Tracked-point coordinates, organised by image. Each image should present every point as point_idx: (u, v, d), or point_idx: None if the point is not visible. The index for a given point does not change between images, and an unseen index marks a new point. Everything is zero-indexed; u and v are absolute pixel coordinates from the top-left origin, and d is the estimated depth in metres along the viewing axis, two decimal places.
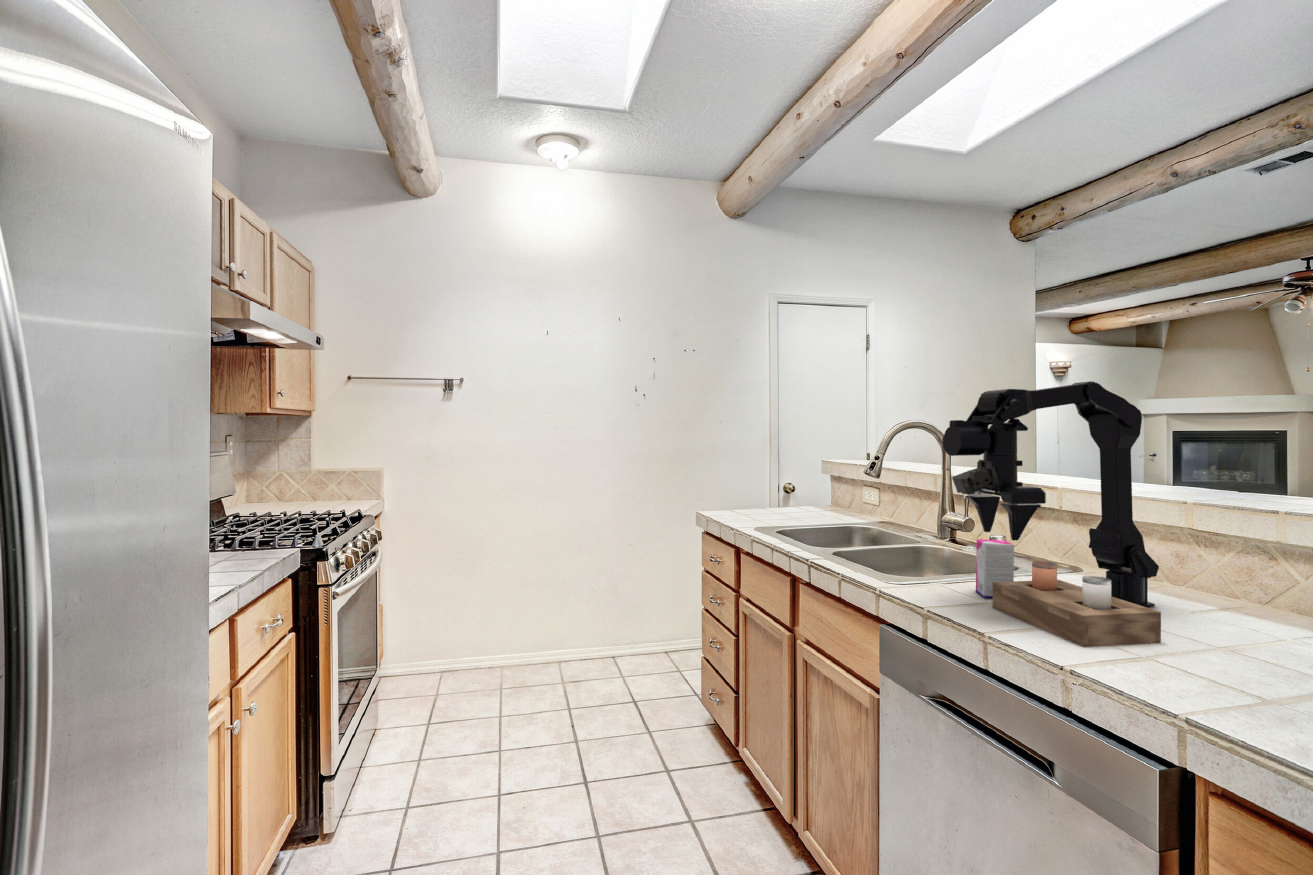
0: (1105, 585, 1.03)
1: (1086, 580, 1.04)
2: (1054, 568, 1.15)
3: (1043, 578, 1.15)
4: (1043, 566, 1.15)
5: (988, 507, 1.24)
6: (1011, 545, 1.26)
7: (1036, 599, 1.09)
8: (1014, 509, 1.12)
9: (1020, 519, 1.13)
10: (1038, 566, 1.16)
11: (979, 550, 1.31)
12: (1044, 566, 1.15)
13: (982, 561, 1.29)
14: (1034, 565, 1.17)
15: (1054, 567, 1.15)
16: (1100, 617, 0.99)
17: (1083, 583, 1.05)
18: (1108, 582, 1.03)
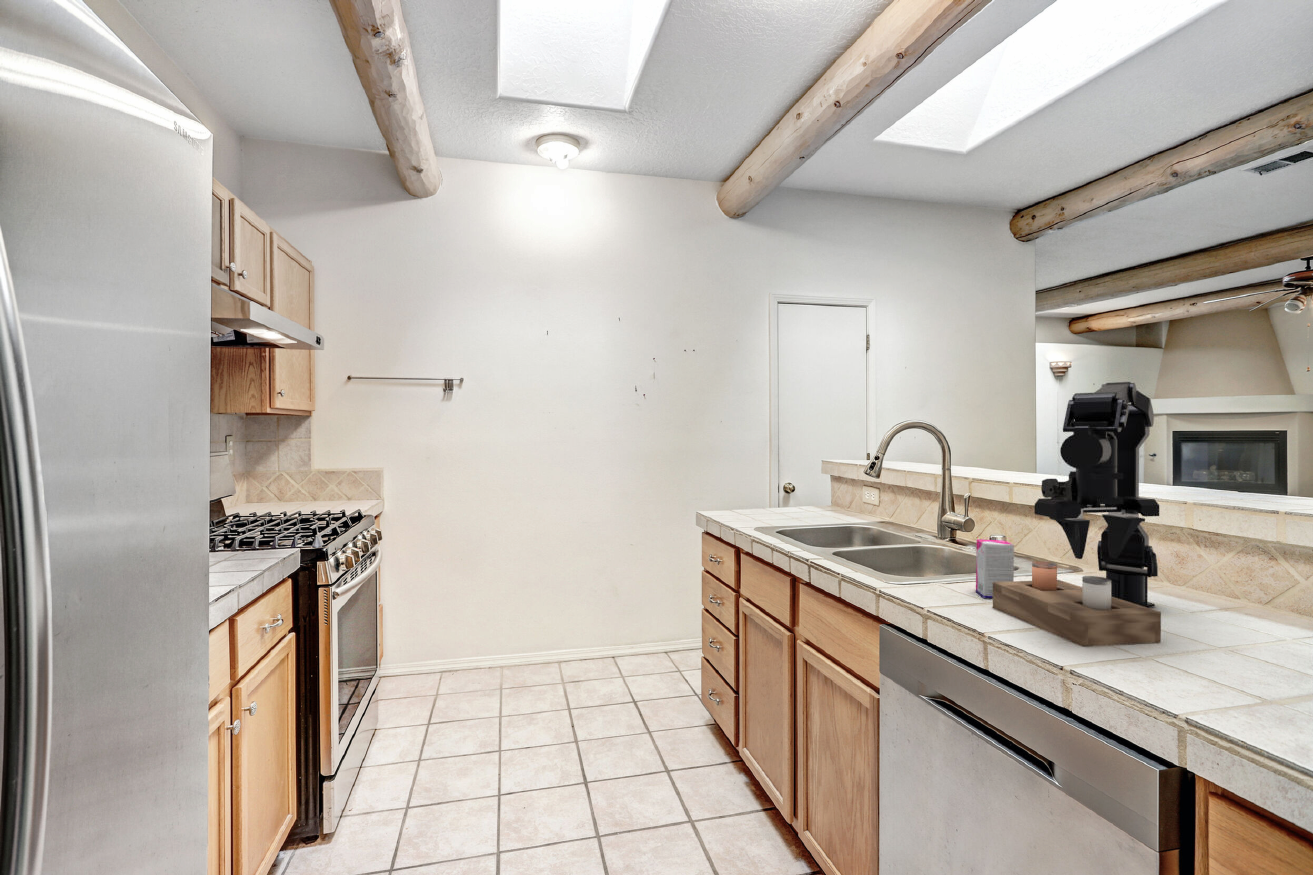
0: (1105, 585, 1.03)
1: (1086, 580, 1.04)
2: (1054, 568, 1.15)
3: (1043, 578, 1.15)
4: (1043, 566, 1.15)
5: (1116, 529, 1.05)
6: (1011, 545, 1.26)
7: (1036, 599, 1.09)
8: (1062, 522, 1.05)
9: (1073, 535, 1.04)
10: (1038, 566, 1.16)
11: (979, 550, 1.31)
12: (1044, 566, 1.15)
13: (981, 561, 1.29)
14: (1034, 565, 1.17)
15: (1054, 567, 1.15)
16: (1100, 617, 0.99)
17: (1083, 583, 1.05)
18: (1108, 582, 1.03)
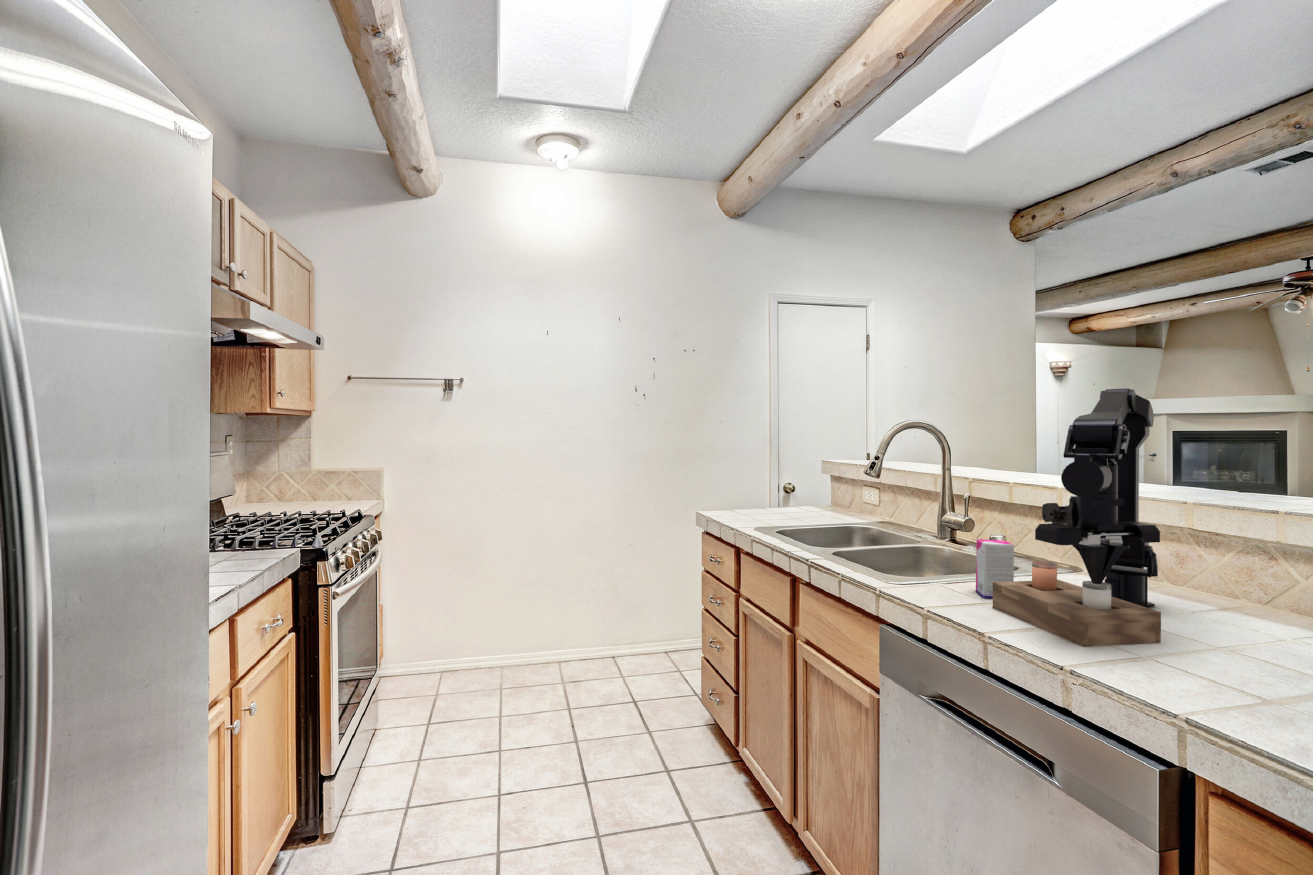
0: (1105, 590, 1.03)
1: (1086, 585, 1.05)
2: (1054, 568, 1.15)
3: (1043, 578, 1.15)
4: (1043, 566, 1.15)
5: None
6: (1011, 545, 1.26)
7: (1036, 599, 1.09)
8: (1079, 547, 1.06)
9: (1090, 560, 1.04)
10: (1038, 566, 1.16)
11: (979, 550, 1.31)
12: (1044, 566, 1.15)
13: (981, 561, 1.29)
14: (1034, 565, 1.17)
15: (1054, 567, 1.15)
16: (1100, 617, 0.99)
17: (1083, 588, 1.05)
18: (1108, 587, 1.03)
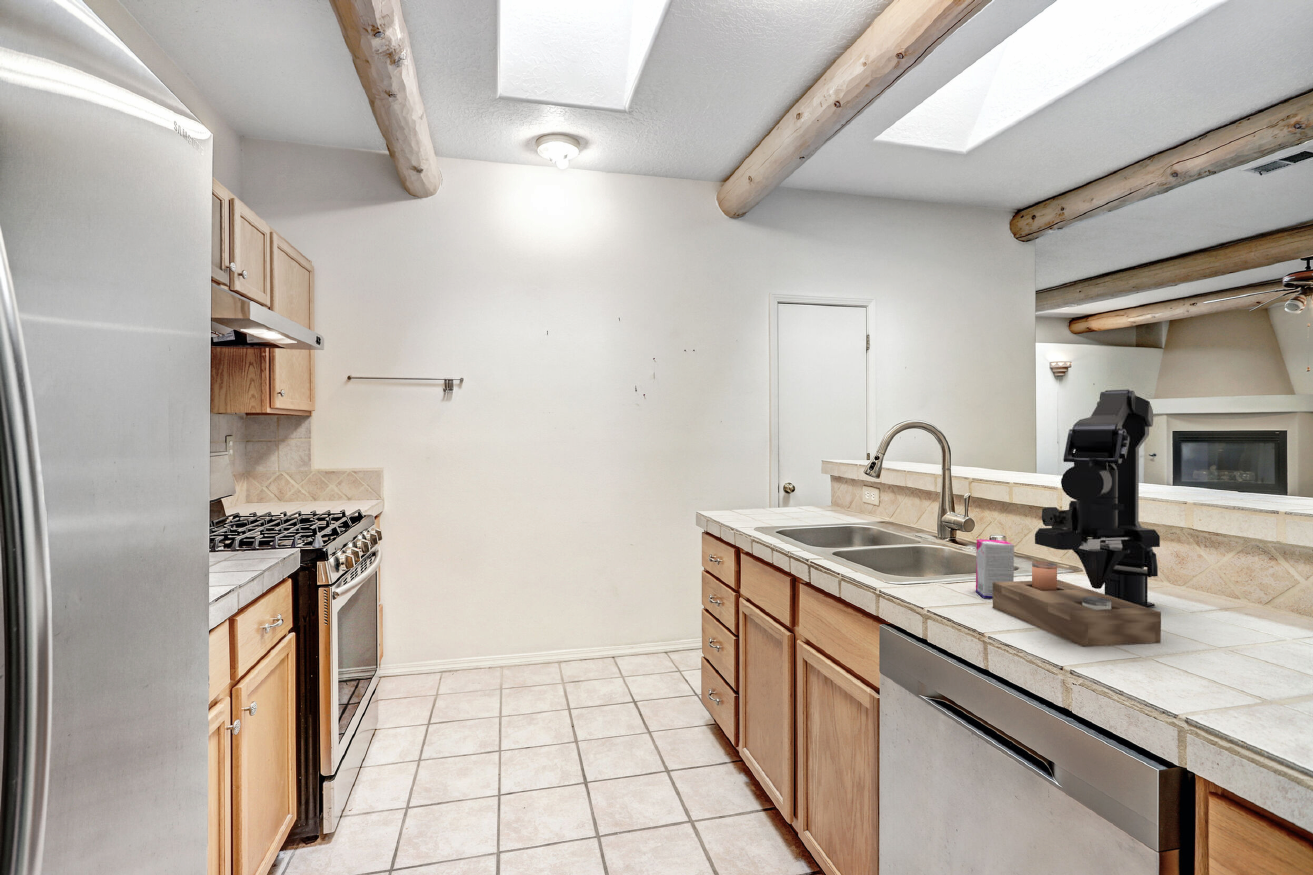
0: (1105, 606, 1.03)
1: (1086, 601, 1.05)
2: (1054, 568, 1.15)
3: (1043, 578, 1.15)
4: (1043, 566, 1.15)
5: None
6: (1011, 545, 1.26)
7: (1036, 599, 1.09)
8: (1079, 551, 1.06)
9: (1090, 565, 1.04)
10: (1038, 566, 1.16)
11: (979, 550, 1.31)
12: (1044, 566, 1.15)
13: (981, 561, 1.29)
14: (1034, 565, 1.17)
15: (1054, 567, 1.15)
16: (1100, 617, 0.99)
17: (1083, 604, 1.05)
18: (1108, 603, 1.03)
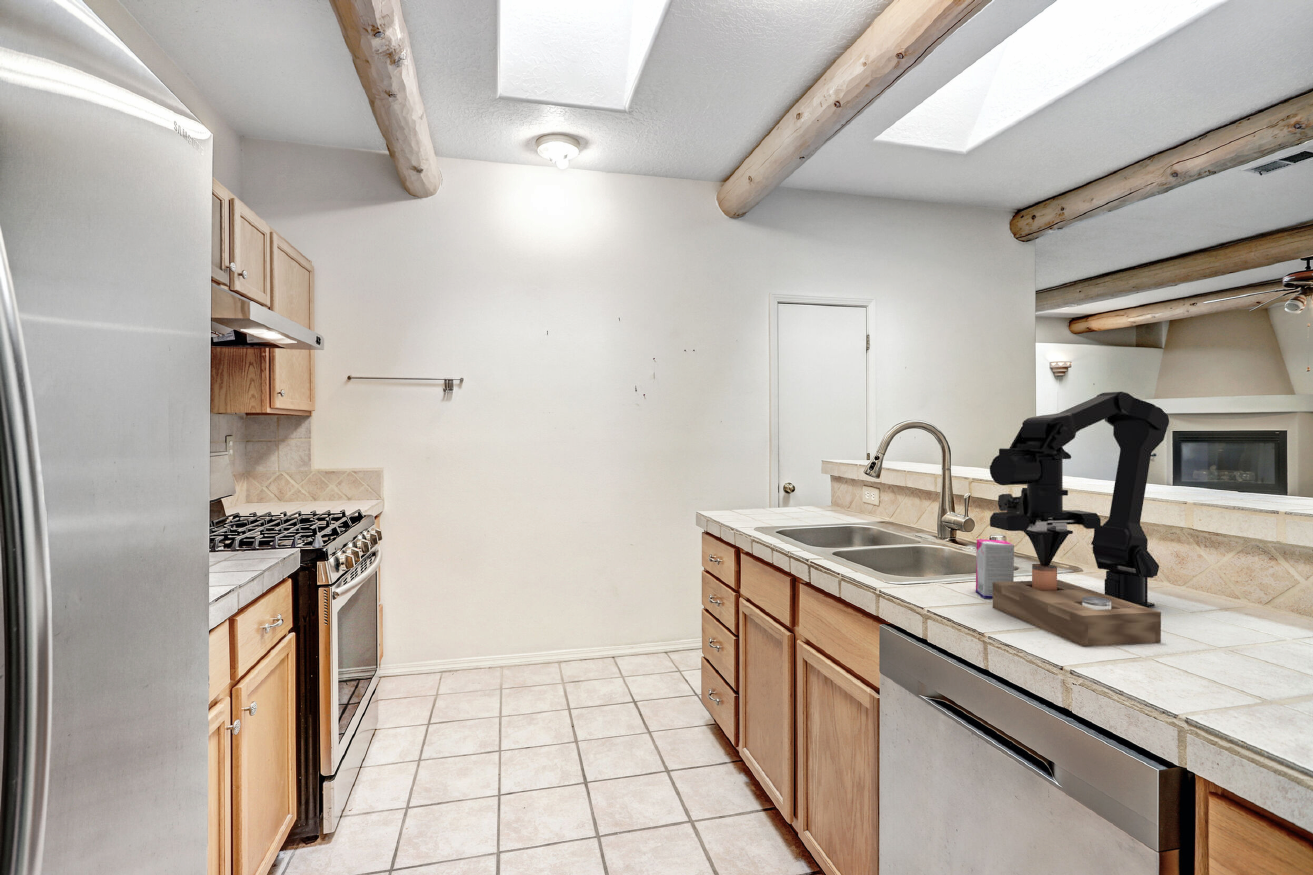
0: (1105, 606, 1.03)
1: (1086, 601, 1.05)
2: (1054, 570, 1.15)
3: (1043, 580, 1.15)
4: (1043, 568, 1.15)
5: None
6: (1011, 545, 1.26)
7: (1036, 599, 1.09)
8: (1029, 533, 1.18)
9: (1039, 545, 1.16)
10: (1038, 568, 1.16)
11: (979, 550, 1.31)
12: (1044, 568, 1.15)
13: (982, 561, 1.29)
14: (1034, 567, 1.17)
15: (1054, 569, 1.15)
16: (1100, 617, 0.99)
17: (1083, 604, 1.05)
18: (1108, 603, 1.03)
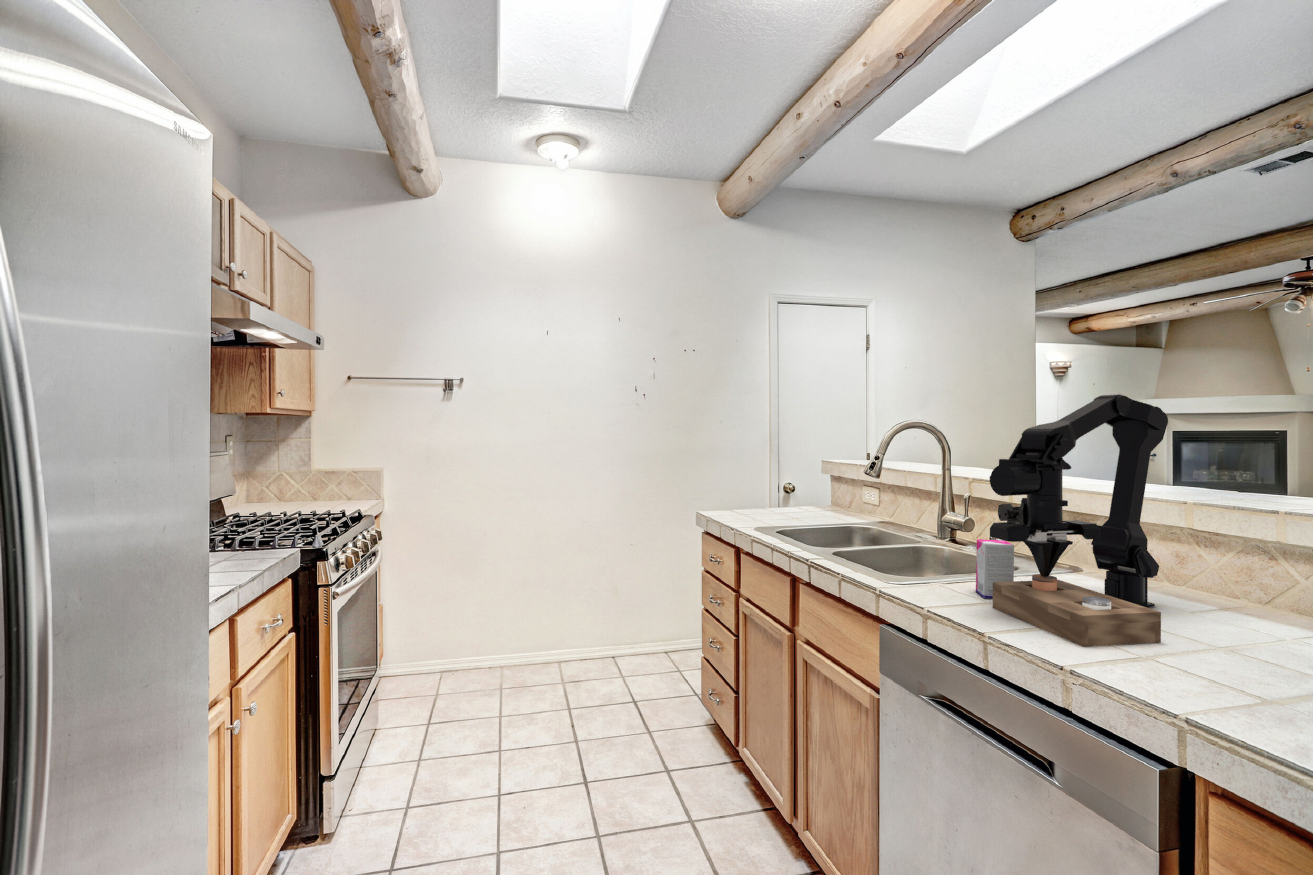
0: (1105, 606, 1.03)
1: (1086, 601, 1.05)
2: (1054, 581, 1.15)
3: None
4: (1043, 579, 1.15)
5: None
6: (1011, 545, 1.26)
7: (1036, 599, 1.09)
8: (1029, 543, 1.18)
9: (1039, 555, 1.16)
10: (1038, 579, 1.16)
11: (979, 550, 1.31)
12: (1044, 579, 1.15)
13: (982, 561, 1.29)
14: (1034, 578, 1.17)
15: (1054, 580, 1.15)
16: (1100, 617, 0.99)
17: (1083, 604, 1.05)
18: (1108, 603, 1.03)
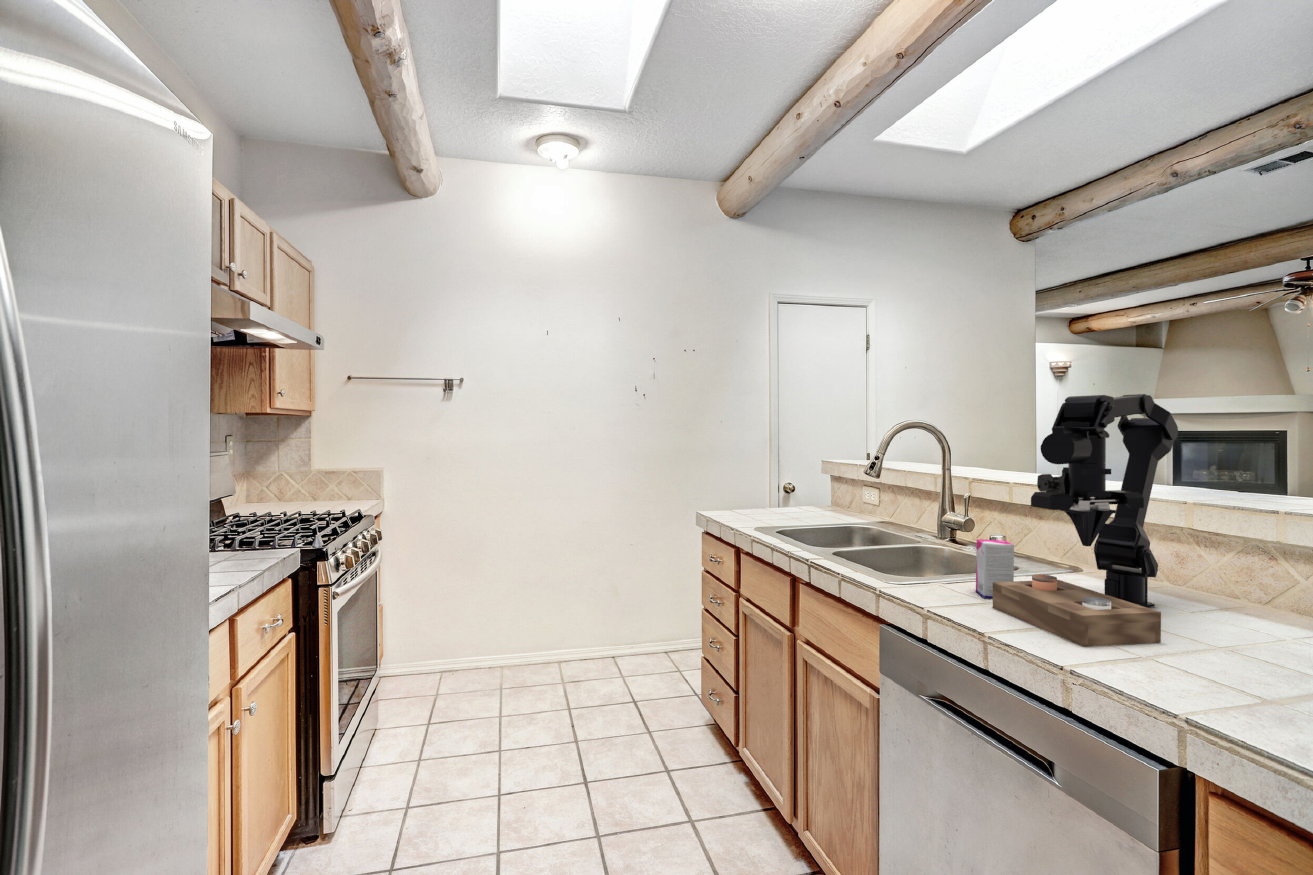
0: (1105, 606, 1.03)
1: (1086, 601, 1.05)
2: (1054, 581, 1.15)
3: None
4: (1043, 579, 1.15)
5: None
6: (1011, 545, 1.26)
7: (1036, 599, 1.09)
8: (1070, 513, 1.16)
9: (1081, 525, 1.15)
10: (1038, 579, 1.16)
11: (979, 550, 1.31)
12: (1044, 579, 1.15)
13: (982, 561, 1.29)
14: (1034, 578, 1.17)
15: (1054, 580, 1.15)
16: (1100, 617, 0.99)
17: (1083, 604, 1.05)
18: (1108, 603, 1.03)
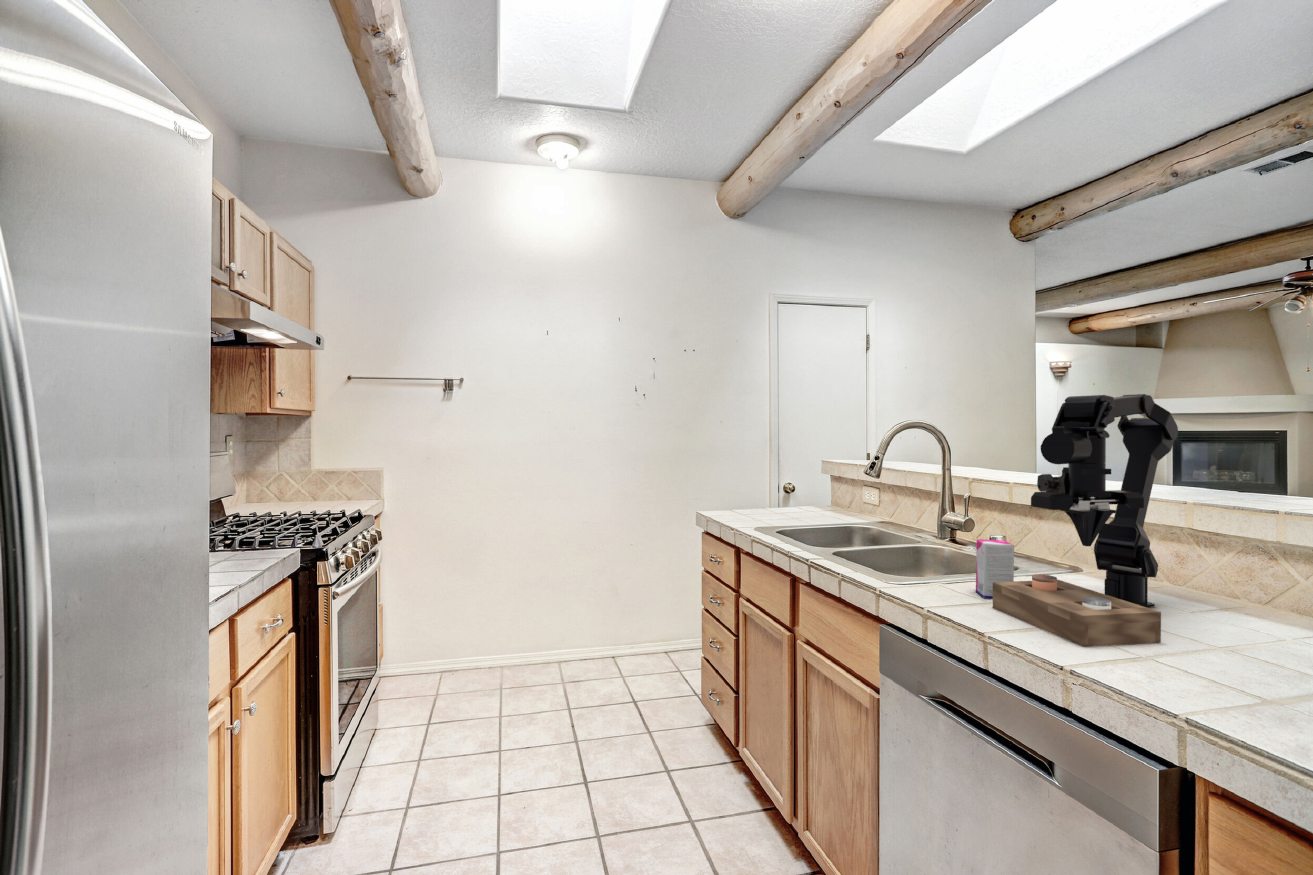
0: (1105, 606, 1.03)
1: (1086, 601, 1.05)
2: (1054, 581, 1.15)
3: None
4: (1043, 579, 1.15)
5: None
6: (1011, 545, 1.26)
7: (1036, 599, 1.09)
8: (1070, 513, 1.16)
9: (1081, 525, 1.15)
10: (1038, 579, 1.16)
11: (979, 550, 1.31)
12: (1044, 579, 1.15)
13: (982, 561, 1.29)
14: (1034, 578, 1.17)
15: (1054, 580, 1.15)
16: (1100, 617, 0.99)
17: (1083, 604, 1.05)
18: (1108, 603, 1.03)
